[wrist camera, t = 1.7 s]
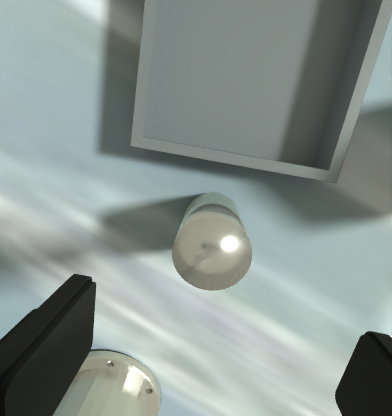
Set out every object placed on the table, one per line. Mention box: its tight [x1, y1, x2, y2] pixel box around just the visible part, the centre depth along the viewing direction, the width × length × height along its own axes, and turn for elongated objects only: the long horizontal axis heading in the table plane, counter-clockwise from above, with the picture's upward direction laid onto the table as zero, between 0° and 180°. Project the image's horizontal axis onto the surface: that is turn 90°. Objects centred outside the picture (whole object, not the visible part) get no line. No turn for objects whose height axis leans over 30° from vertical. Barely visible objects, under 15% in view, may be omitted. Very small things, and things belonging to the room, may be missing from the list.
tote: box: [130, 0, 392, 183], centre depth 18 cm, size 16×16×4 cm
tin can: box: [172, 192, 252, 290], centre depth 20 cm, size 5×5×8 cm
